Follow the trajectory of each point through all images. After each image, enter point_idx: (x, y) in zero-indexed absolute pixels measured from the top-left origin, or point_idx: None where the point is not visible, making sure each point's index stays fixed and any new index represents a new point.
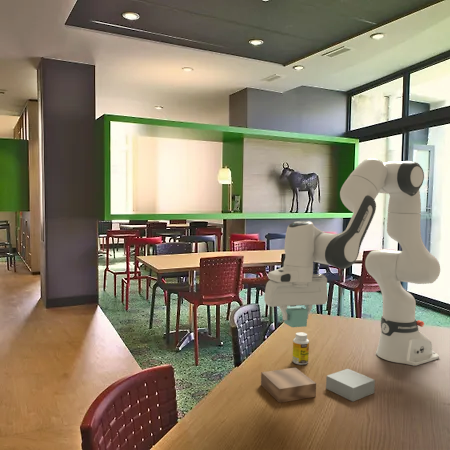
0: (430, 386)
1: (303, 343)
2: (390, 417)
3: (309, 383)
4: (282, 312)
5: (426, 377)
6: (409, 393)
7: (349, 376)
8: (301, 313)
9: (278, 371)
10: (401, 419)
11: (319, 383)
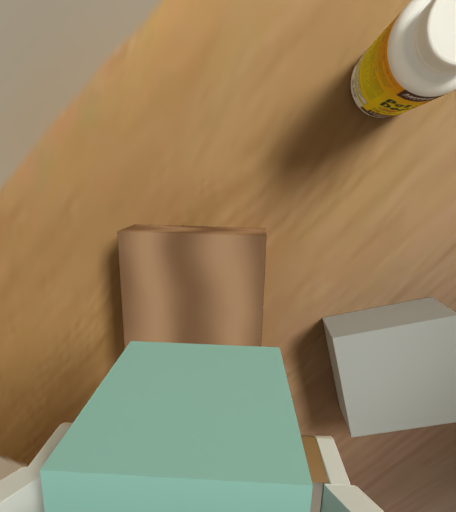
0: None
1: (420, 94)
2: (368, 492)
3: None
4: (3, 493)
5: None
6: None
7: (407, 370)
8: None
9: (183, 246)
10: (385, 506)
11: (326, 280)
